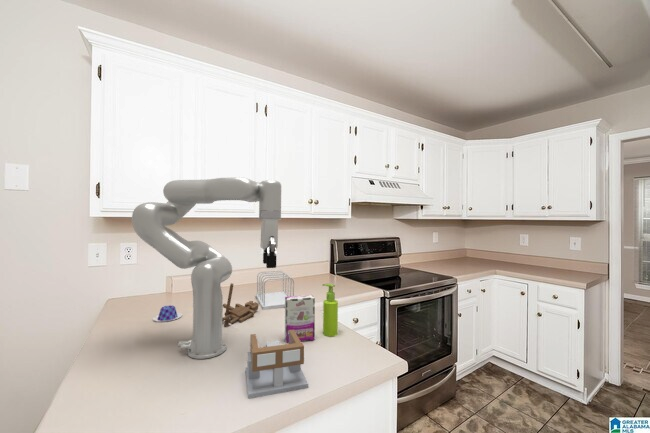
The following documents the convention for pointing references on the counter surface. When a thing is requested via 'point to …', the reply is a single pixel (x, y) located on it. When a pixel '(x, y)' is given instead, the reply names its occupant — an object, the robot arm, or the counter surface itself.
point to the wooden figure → (238, 310)
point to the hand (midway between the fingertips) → (269, 265)
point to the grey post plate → (274, 378)
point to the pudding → (167, 314)
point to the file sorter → (273, 298)
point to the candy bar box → (300, 317)
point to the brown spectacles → (276, 354)
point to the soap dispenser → (330, 313)
